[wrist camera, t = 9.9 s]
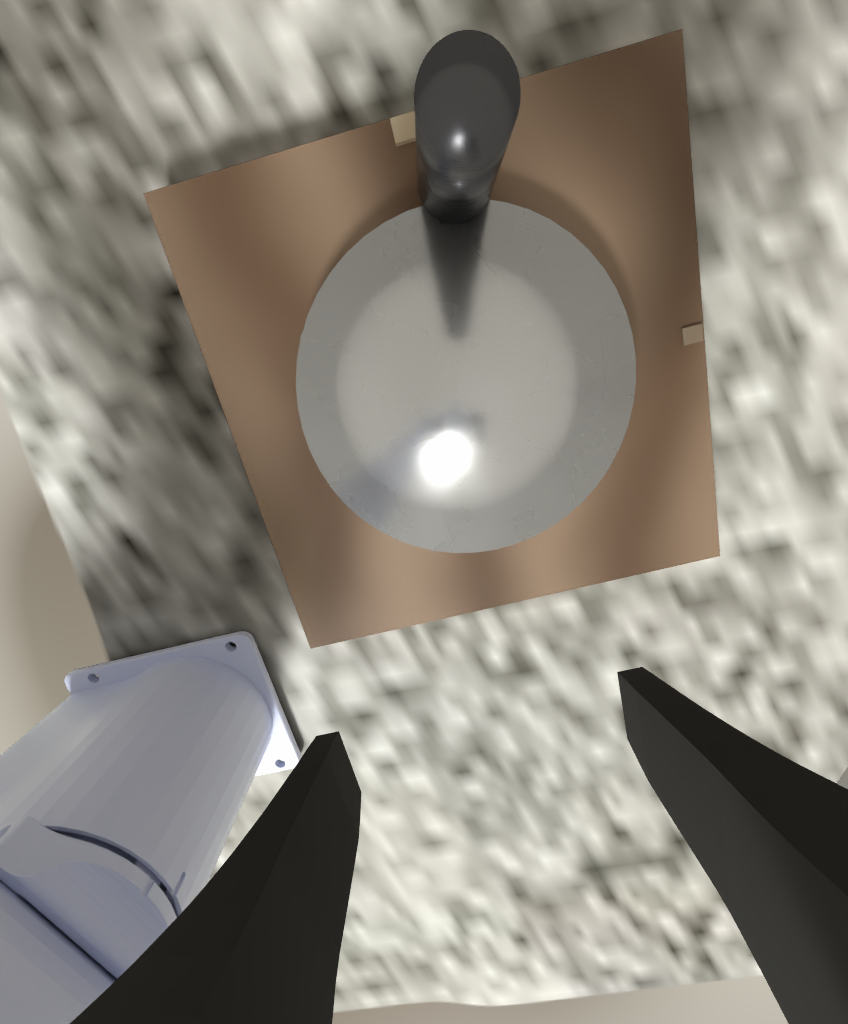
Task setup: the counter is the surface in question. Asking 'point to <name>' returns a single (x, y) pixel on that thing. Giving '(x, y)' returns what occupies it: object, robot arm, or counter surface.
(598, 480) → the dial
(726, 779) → the robot arm
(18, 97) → the counter surface
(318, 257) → the dial board
